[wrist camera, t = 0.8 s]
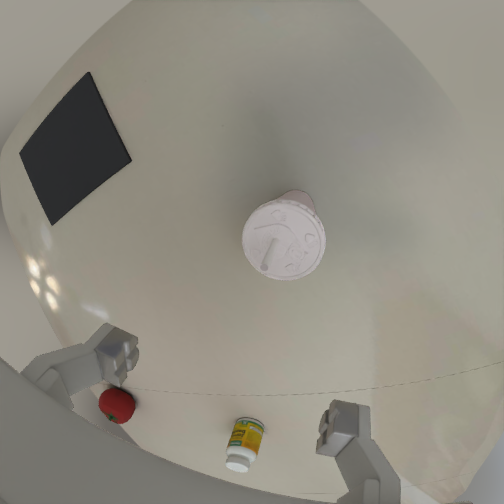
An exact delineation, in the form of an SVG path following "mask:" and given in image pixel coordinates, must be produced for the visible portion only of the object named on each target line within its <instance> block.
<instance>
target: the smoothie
mask: <svg viewBox="0 0 504 504" xmlns="http://www.w3.org/2000/svg"><path fill="white" fill-rule="evenodd" d="M325 244H326V237H325V230H324V228H323V225H322V223H321V220H320V219H319V218H318V217H317V215H316V212H315V208H314V204H313V201H312V199H311V198H310V197H309V195H307V194H306V193H305V192H303V191H299V190H291V191H288V192H286V193H285V194H283V195H282V196H280V197H279V198H278V199H276V200H273V201H270V202H267V203H265V204H262V205H261V206H259V207H258V208H257V209H256V210H254V211H253V213H252V214H251V215H250V217H249V218H248V220H247V222H246V224H245V226H244V229H243V233H242V246H243V250H244V253H245V255H246V257H247V259H248V261H249V262H250V263H251V265H252V266H253V267H254V268H255V269H256V270H257V271H259V272H260V273H262V274H263V275H265V276H267V277H270V278H273V279H276V280H284V281H288V280H295V279H299V278H302V277H304V276H306V275H308V274H309V273H311V272H312V271H313V270H314V269H315V268H316V267H317V266H318V264H319V263H320V261H321V259H322V257H323V253H324V250H325Z"/></svg>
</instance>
